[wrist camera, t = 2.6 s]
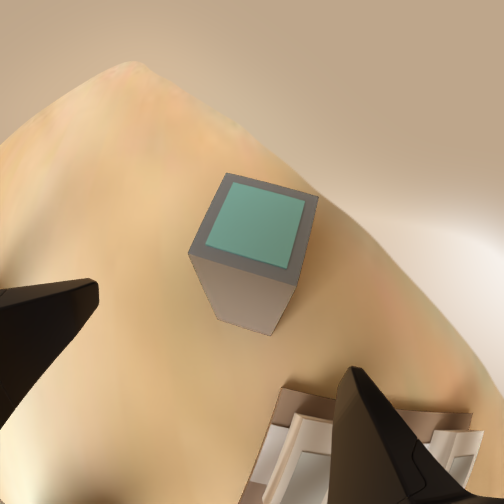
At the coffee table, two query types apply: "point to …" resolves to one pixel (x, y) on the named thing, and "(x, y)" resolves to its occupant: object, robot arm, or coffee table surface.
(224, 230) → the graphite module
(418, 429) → the board
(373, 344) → the coffee table surface
